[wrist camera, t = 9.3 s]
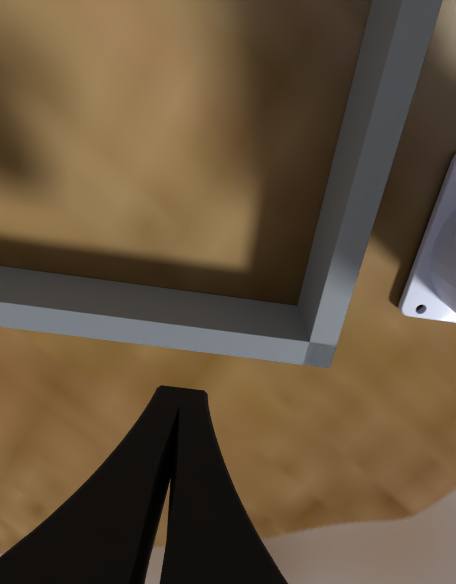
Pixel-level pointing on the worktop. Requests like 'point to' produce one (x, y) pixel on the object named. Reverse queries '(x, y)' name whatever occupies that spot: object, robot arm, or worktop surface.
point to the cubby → (324, 252)
